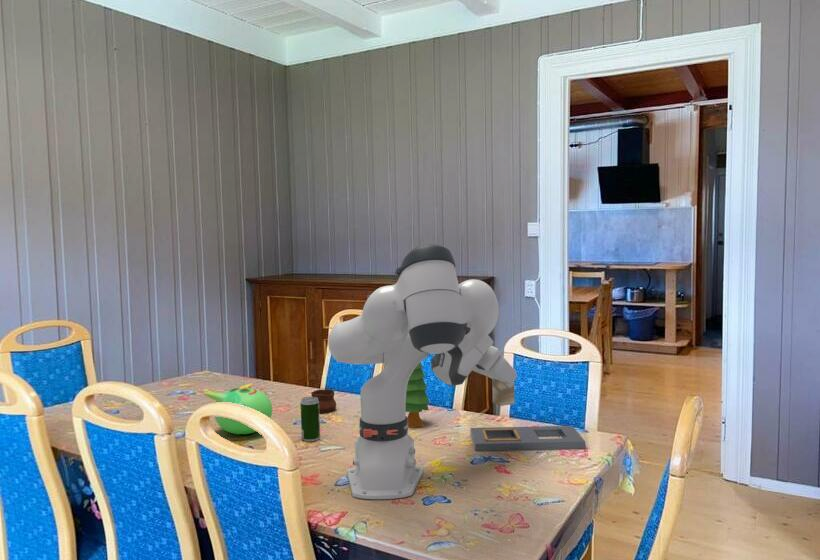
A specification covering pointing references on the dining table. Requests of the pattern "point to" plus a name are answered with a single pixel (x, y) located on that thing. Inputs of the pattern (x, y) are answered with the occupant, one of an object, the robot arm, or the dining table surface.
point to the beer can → (310, 419)
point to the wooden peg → (502, 393)
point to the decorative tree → (416, 397)
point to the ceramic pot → (325, 400)
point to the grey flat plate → (526, 438)
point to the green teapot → (242, 397)
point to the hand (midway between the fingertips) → (504, 383)
